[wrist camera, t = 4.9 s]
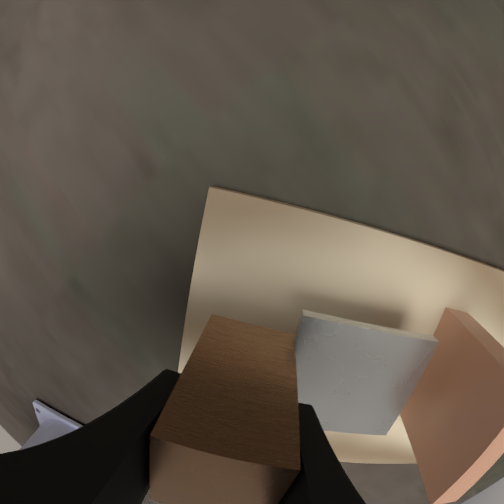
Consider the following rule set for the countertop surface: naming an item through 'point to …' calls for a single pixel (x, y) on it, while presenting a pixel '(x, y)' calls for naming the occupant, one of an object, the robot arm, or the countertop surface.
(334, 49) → the countertop surface
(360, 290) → the board
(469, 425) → the tile
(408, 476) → the countertop surface
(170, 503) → the bookend
